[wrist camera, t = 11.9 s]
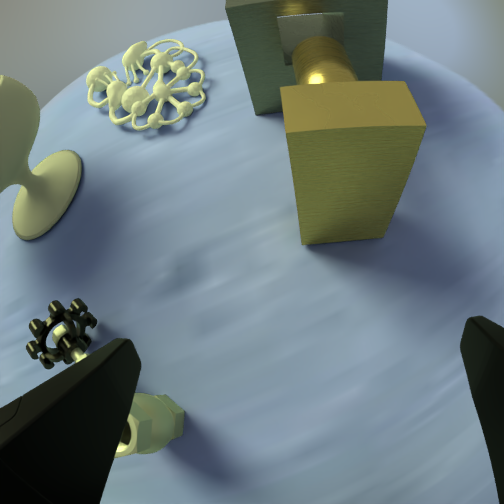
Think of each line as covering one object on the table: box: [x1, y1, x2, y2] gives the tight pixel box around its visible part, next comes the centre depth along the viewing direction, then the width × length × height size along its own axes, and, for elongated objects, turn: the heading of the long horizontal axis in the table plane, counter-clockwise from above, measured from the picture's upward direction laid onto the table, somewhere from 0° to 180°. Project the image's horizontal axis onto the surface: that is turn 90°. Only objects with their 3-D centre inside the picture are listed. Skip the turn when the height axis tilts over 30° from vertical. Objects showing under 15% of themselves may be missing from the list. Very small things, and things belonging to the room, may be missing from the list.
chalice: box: [0, 75, 82, 240], centre depth 24 cm, size 14×14×15 cm
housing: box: [225, 0, 388, 115], centre depth 24 cm, size 10×12×12 cm
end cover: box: [280, 36, 427, 245], centre depth 19 cm, size 11×6×12 cm, turn 1°
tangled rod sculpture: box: [86, 39, 206, 131], centre depth 33 cm, size 19×14×4 cm
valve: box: [26, 298, 185, 458], centre depth 19 cm, size 7×7×12 cm
